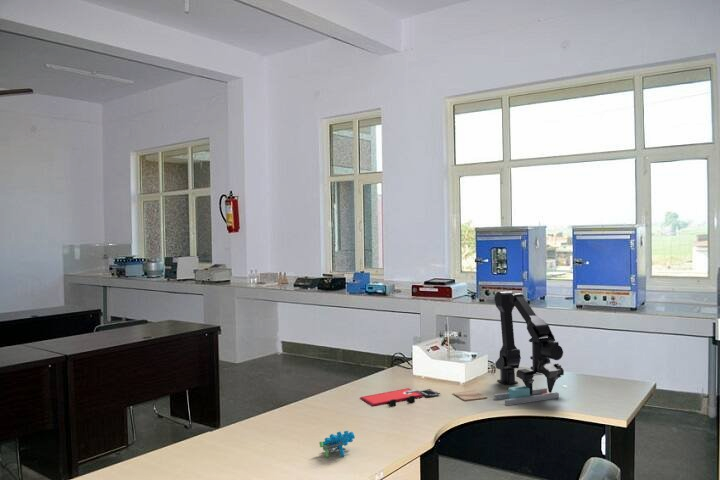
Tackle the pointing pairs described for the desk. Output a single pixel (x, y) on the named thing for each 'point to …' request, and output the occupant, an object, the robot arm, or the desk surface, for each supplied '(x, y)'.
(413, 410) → the desk surface
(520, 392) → the teal block
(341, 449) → the blue plastic figure
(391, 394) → the red board with handle
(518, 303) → the robot arm
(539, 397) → the channel
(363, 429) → the desk surface
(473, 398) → the walnut pad
